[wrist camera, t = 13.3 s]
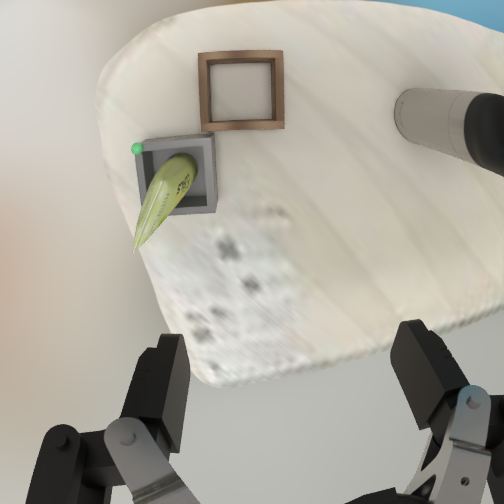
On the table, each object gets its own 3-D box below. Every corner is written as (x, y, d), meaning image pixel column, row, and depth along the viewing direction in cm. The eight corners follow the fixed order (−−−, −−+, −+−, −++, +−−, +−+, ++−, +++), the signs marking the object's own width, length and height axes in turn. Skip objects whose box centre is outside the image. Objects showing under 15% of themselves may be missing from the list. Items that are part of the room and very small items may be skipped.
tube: (203, 184, 44) (182, 242, 26) (171, 193, 44) (132, 254, 27) (193, 147, 41) (162, 180, 24) (160, 157, 42) (109, 197, 24)
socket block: (213, 131, 41) (209, 135, 35) (217, 199, 46) (215, 215, 40) (144, 137, 41) (128, 144, 35) (151, 203, 46) (139, 220, 39)
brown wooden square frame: (277, 56, 37) (283, 50, 32) (279, 126, 41) (284, 128, 37) (202, 58, 36) (198, 53, 32) (205, 128, 41) (201, 131, 37)
